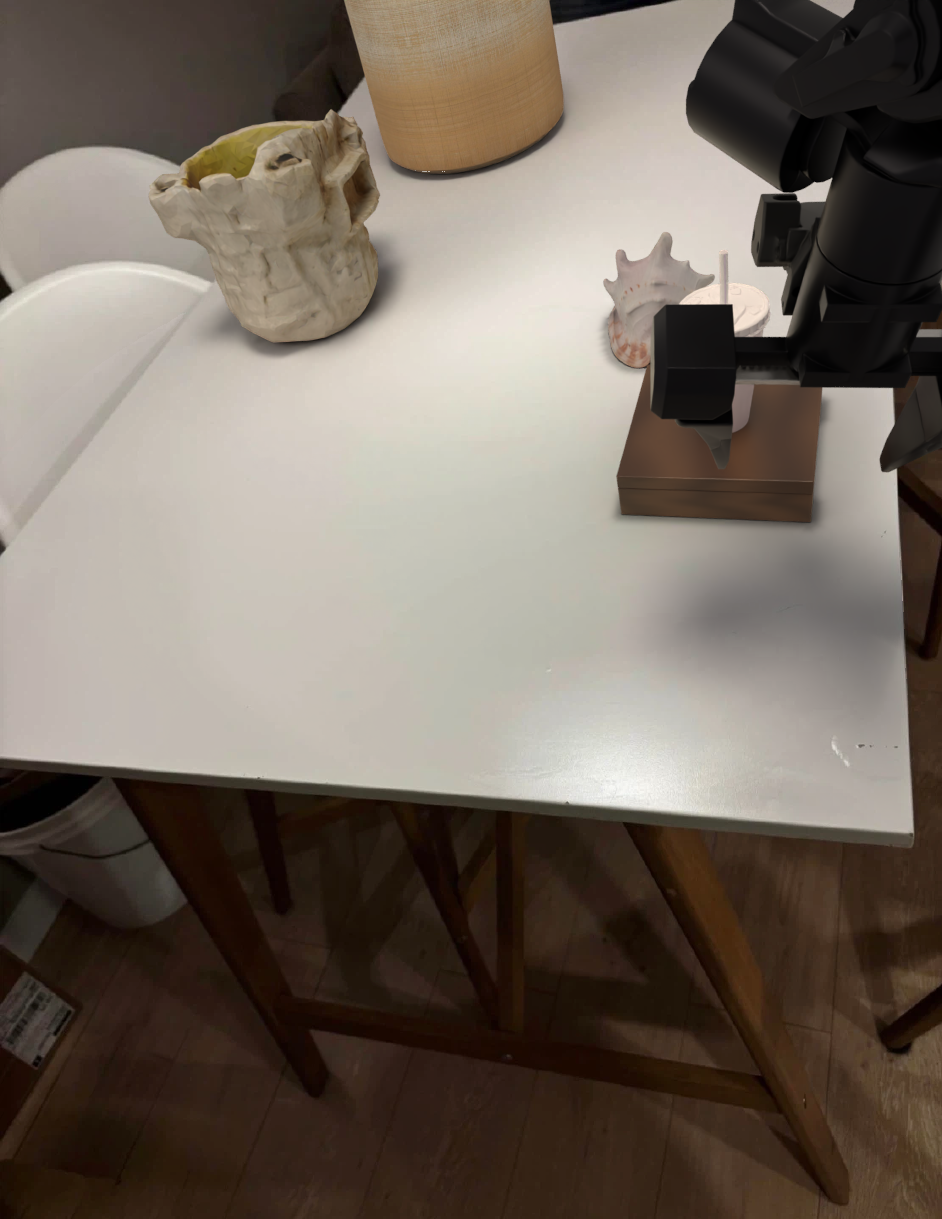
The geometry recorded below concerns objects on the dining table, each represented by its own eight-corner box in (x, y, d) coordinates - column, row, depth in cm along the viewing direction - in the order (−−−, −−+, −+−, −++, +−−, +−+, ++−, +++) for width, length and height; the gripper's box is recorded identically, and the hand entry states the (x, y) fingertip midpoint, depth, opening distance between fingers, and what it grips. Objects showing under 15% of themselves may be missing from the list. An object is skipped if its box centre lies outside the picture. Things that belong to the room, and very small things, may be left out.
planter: (508, 185, 112) (469, -18, 96) (354, 177, 124) (296, -4, 108) (598, 94, 124) (576, -100, 108) (449, 96, 136) (410, -78, 120)
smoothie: (694, 454, 67) (686, 284, 56) (671, 405, 71) (659, 239, 61) (779, 433, 66) (787, 257, 56) (751, 384, 70) (753, 213, 60)
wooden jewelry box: (821, 401, 73) (824, 360, 70) (810, 522, 65) (814, 481, 62) (650, 402, 78) (647, 364, 75) (621, 514, 70) (616, 476, 67)
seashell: (718, 290, 87) (717, 196, 80) (708, 365, 80) (705, 269, 73) (615, 297, 90) (604, 208, 83) (596, 370, 83) (583, 278, 76)
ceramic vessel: (215, 191, 110) (260, -10, 90) (385, 299, 114) (464, 130, 94) (113, 290, 97) (139, 81, 77) (309, 409, 101) (382, 239, 81)
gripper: (1073, 119, 41) (947, 363, 55) (664, 131, 44) (640, 361, 57) (1136, 288, 36) (979, 511, 50) (666, 290, 38) (639, 503, 52)
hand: (801, 464), depth 52 cm, fingers open, 9 cm apart
